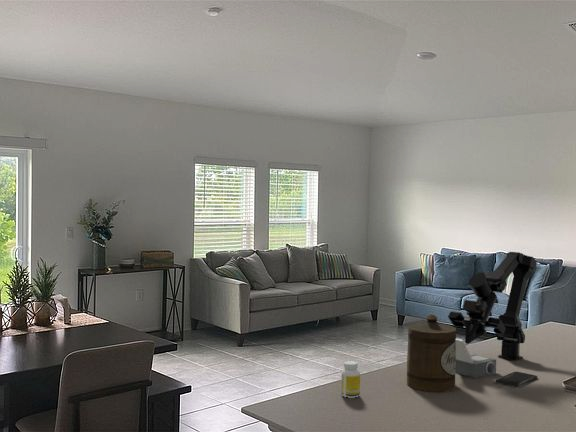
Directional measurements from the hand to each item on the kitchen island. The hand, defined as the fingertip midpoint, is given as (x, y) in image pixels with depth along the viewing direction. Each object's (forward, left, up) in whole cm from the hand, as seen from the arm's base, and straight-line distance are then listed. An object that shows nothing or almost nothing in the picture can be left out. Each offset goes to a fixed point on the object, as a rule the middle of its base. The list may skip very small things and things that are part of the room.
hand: (466, 343), depth 204 cm
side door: (+4, 0, -2) cm, 4 cm away
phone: (-8, +13, -11) cm, 19 cm away
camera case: (-5, 0, -10) cm, 12 cm away
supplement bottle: (+46, -5, -11) cm, 48 cm away
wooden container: (+18, +1, -11) cm, 21 cm away
